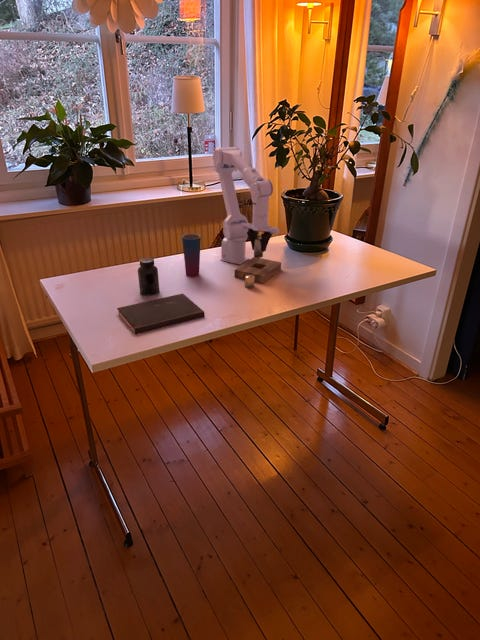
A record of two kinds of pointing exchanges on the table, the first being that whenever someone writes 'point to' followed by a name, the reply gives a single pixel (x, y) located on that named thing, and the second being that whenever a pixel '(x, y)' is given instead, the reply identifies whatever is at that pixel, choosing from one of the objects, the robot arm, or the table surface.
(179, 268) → the table surface
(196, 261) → the cup
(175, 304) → the hardcover book
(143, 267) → the supplement bottle
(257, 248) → the long steel peg
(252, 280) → the short brass peg
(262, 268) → the walnut board
